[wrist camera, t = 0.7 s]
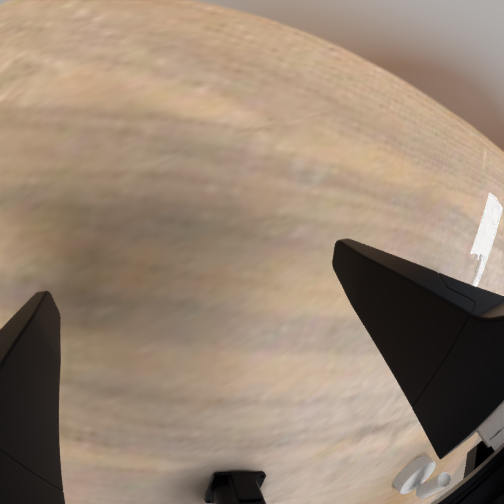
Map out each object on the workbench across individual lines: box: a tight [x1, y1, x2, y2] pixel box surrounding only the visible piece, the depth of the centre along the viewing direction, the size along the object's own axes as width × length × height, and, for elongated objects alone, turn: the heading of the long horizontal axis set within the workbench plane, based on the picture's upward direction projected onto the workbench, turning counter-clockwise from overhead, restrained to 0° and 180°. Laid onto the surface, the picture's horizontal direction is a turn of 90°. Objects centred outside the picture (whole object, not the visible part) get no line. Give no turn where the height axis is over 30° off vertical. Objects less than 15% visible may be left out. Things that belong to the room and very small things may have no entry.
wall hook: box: [393, 455, 451, 498], centre depth 37 cm, size 9×10×10 cm
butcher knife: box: [470, 192, 503, 287], centre depth 35 cm, size 5×15×1 cm, turn 151°
